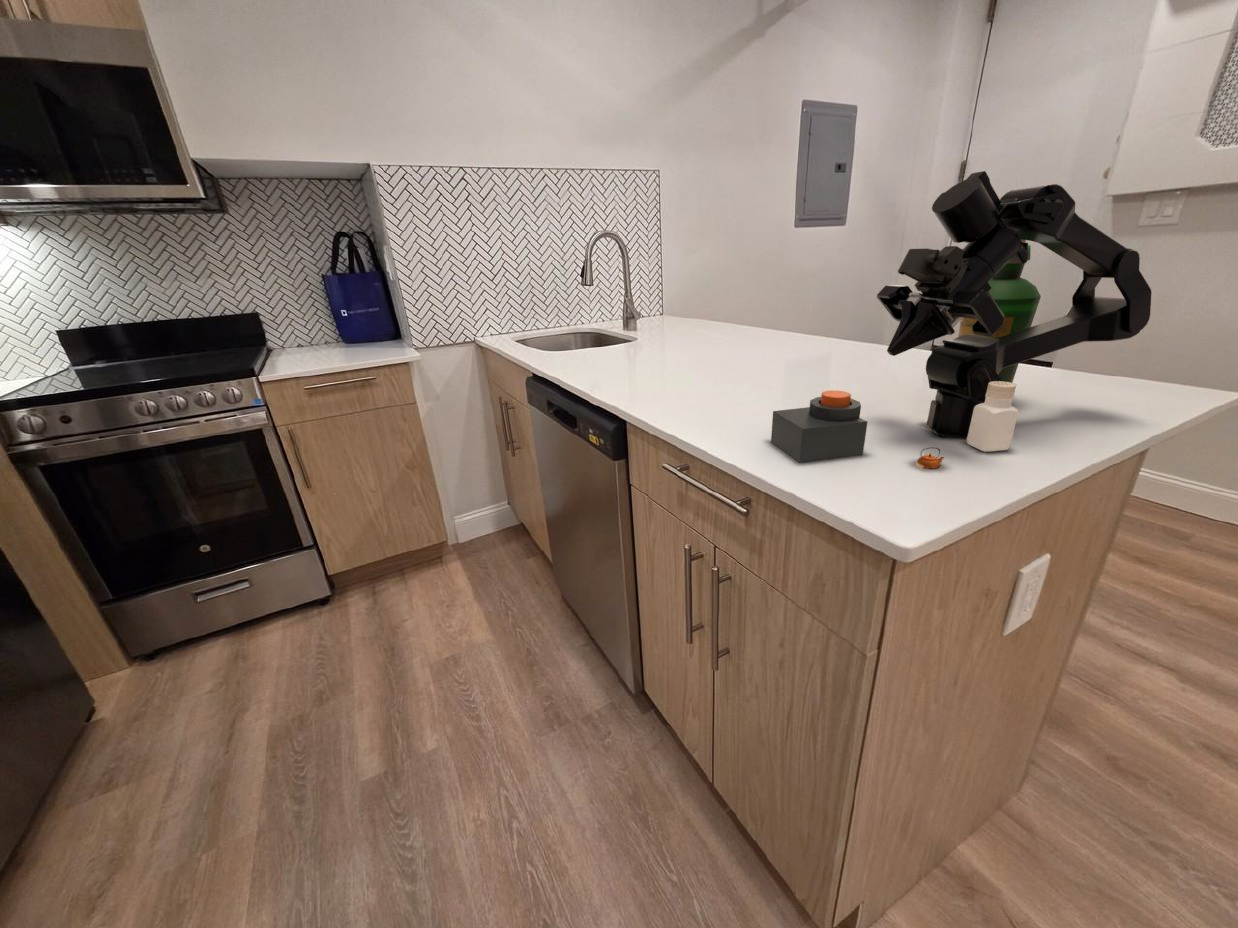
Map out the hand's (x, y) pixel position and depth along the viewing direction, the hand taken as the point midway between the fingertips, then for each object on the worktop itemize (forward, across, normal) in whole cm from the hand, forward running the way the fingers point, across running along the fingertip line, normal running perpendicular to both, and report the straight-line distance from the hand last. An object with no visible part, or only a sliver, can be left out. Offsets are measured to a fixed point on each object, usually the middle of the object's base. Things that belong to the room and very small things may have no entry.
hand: (890, 353), depth 73 cm
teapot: (+10, +10, +10) cm, 17 cm away
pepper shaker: (+1, +7, +19) cm, 20 cm away
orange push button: (+11, 0, -1) cm, 11 cm away
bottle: (-11, -12, +30) cm, 34 cm away
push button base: (+17, 0, +2) cm, 17 cm away
